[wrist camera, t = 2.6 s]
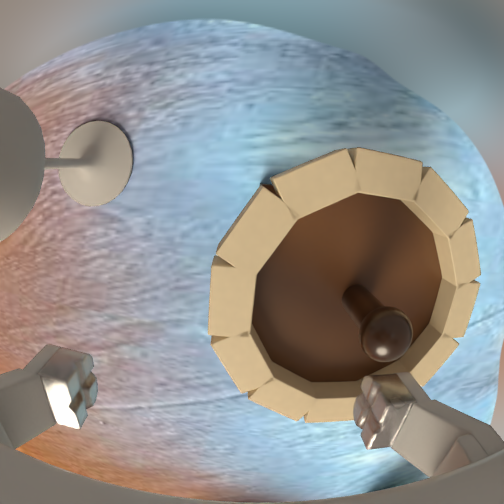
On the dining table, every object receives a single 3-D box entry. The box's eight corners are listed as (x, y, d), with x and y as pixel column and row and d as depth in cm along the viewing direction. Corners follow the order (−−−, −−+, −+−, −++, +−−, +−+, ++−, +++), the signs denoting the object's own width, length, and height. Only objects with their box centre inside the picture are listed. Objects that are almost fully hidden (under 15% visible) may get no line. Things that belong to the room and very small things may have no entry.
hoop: (224, 133, 14) (222, 129, 12) (481, 182, 15) (498, 184, 13) (207, 402, 17) (205, 420, 16) (422, 396, 18) (432, 409, 17)
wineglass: (44, 163, 23) (-164, 191, 2) (101, 101, 22) (-112, 27, 1) (91, 226, 24) (-117, 341, 4) (153, 164, 23) (-89, 175, 3)
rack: (244, 165, 24) (253, 155, 9) (393, 185, 25) (529, 212, 10) (231, 315, 27) (226, 455, 12) (367, 322, 28) (450, 433, 13)
